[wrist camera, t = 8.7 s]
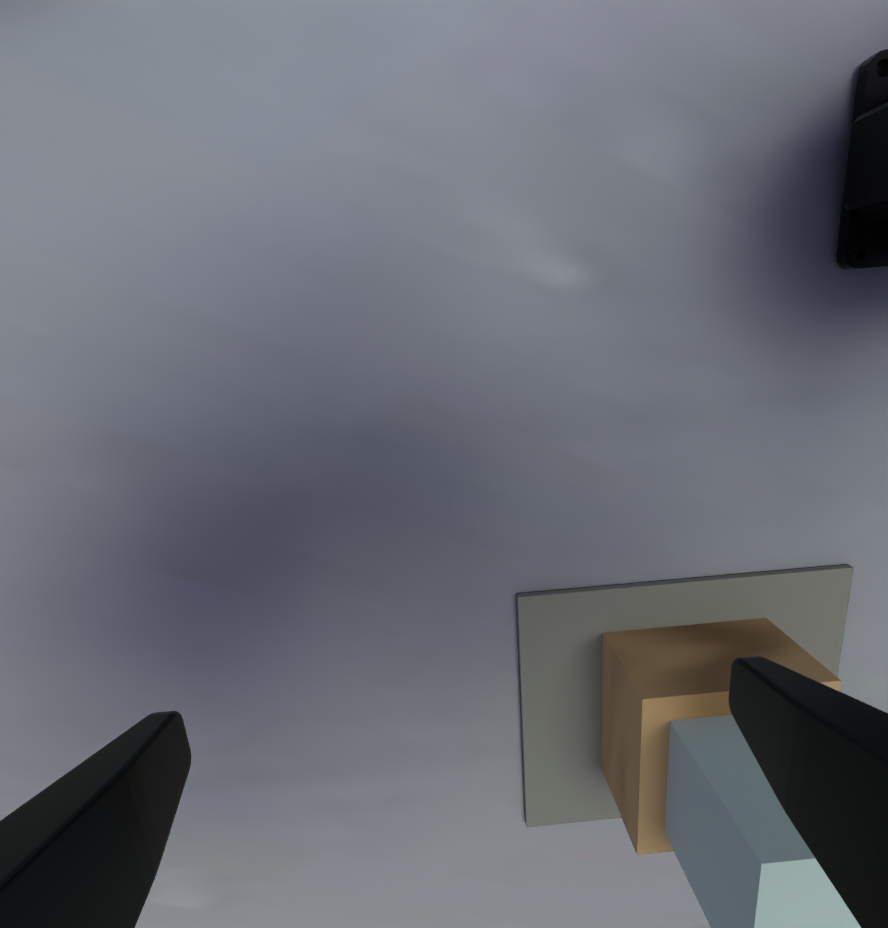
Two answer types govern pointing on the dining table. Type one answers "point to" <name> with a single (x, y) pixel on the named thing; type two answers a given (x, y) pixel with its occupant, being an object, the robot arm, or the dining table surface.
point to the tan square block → (673, 704)
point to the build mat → (631, 608)
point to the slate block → (740, 836)
